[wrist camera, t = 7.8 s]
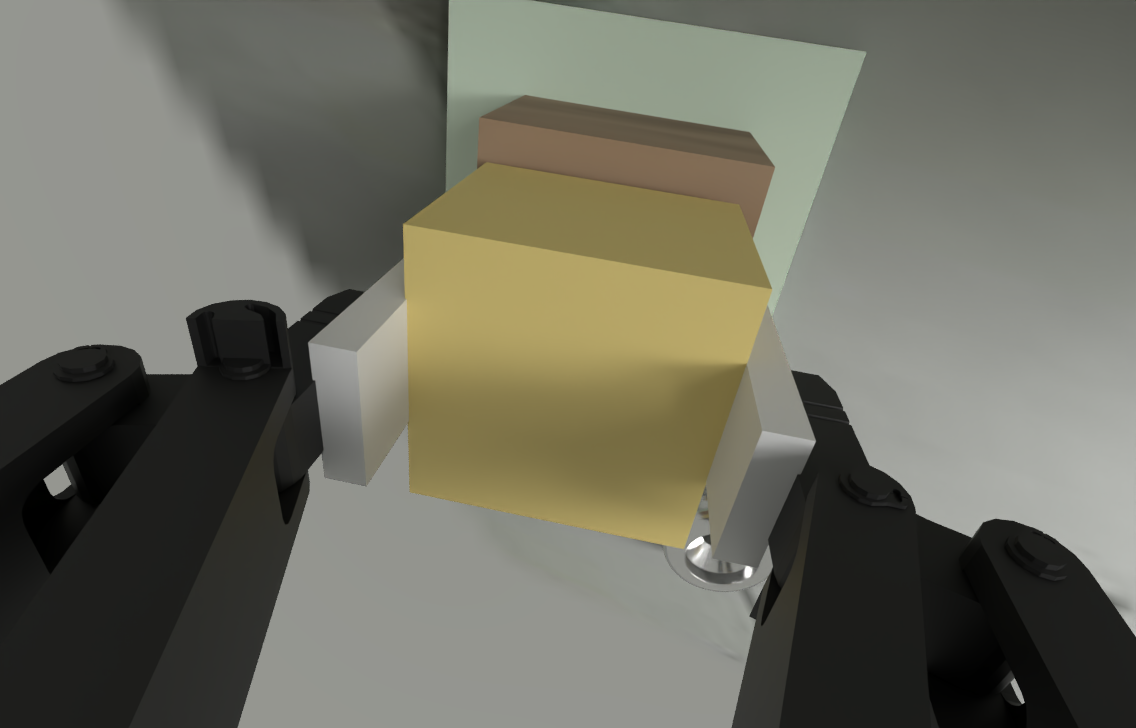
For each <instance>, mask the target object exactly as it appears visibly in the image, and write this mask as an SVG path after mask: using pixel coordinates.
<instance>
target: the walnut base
mask: <svg viewBox="0 0 1136 728" xmlns="http://www.w3.org/2000/svg"><path fill="white" fill-rule="evenodd" d="M486 162H489V163H494V164H500V165H506V166H512V167H518V168H524V169H530V170H536V171H542V172H548V173H554V174H560V175H566V176H572V177H578V178H584V179H590V180H596V181H602V182H608V183H614V184H620V185H626V186H632V187H638V188H643V189H649V190H655V191H661V192H667V193H673V194H679V195H685V196H691V197H697V198H703V199H709V200H715V201H721V202H727V203H733V204H739V205H740V208H741V210H742V213H743V215H744V218H745V220H746V223H747V226H748V228H749V231H750V233H751V236H752V238H753V237H754V234H755V231H756V227H757V224H758V221H759V218H760V215H761V211H762V208H763V205H764V202H765V198H766V195H767V192H768V189H769V186H770V182H771V179H772V176H773V173H774V170H775V166H774V165H773V163H772V162H771V160H770V159H769V158H768V156H767V155H766V154H765V152H764V151H763V149H762V148H761V147H760V145H759V144H758V142H757V141H756V140H755V138H754V137H753V135H752V134H751V133H750V132H747V131H741V130H735V129H729V128H723V127H716V126H710V125H704V124H698V123H692V122H686V121H680V120H674V119H668V118H662V117H656V116H650V115H644V114H638V113H631V112H625V111H619V110H613V109H607V108H601V107H595V106H589V105H583V104H577V103H571V102H565V101H559V100H552V99H546V98H540V97H534V96H528V95H524V96H522V97H520V98H518V99H516V100H514V101H512V102H510V103H508V104H506V105H504V106H502V107H499V108H497V109H495V110H493V111H491V112H489V113H487V114H485V115H483V116H481V117H479V134H478V156H477V169H478V168H479V167H481V166H482V165H483V164H485V163H486Z"/></svg>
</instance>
